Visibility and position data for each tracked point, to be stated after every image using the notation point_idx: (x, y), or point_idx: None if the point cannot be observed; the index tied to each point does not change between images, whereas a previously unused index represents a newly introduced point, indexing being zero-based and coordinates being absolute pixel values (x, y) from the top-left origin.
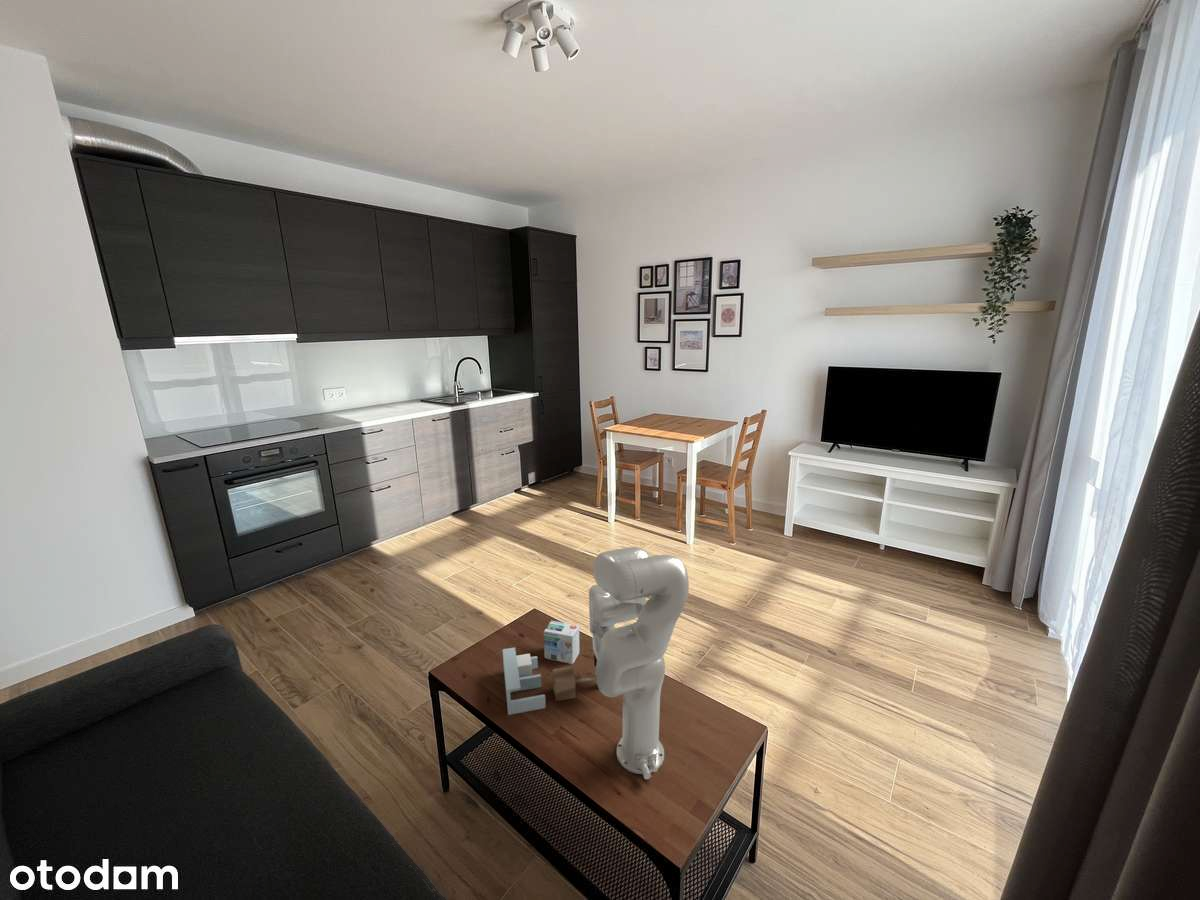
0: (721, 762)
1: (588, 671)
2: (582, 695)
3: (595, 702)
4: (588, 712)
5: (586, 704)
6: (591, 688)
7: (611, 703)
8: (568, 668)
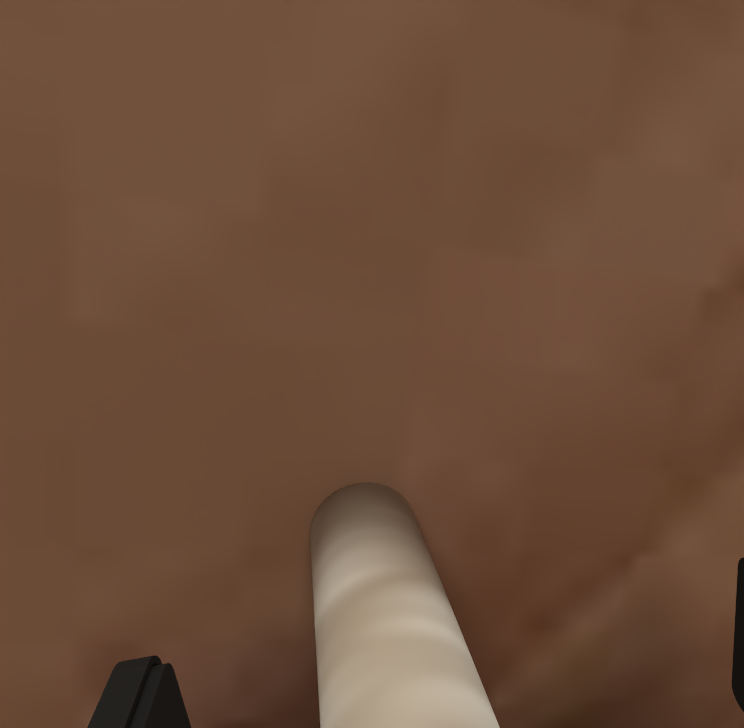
0: None
1: (73, 682)
2: None
3: (608, 597)
4: (717, 657)
5: (613, 678)
6: None
7: (663, 433)
8: None
